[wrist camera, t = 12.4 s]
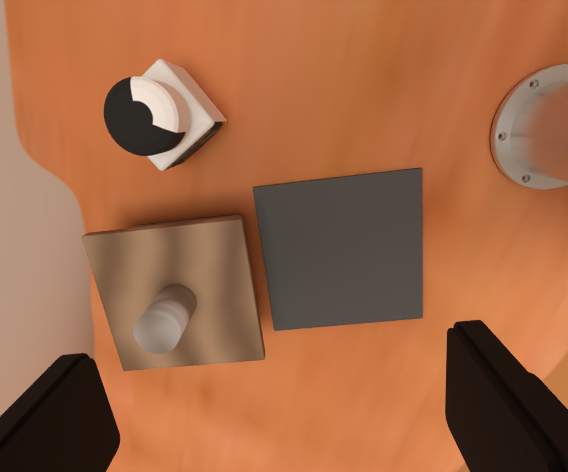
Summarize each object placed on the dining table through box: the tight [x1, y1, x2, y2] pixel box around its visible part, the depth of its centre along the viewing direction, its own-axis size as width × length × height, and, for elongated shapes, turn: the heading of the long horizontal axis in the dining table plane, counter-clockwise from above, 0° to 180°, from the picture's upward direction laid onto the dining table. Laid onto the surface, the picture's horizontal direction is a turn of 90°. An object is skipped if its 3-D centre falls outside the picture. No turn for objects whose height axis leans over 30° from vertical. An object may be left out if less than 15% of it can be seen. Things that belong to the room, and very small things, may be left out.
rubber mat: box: [253, 168, 423, 331], centre depth 44 cm, size 19×19×1 cm
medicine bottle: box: [104, 59, 227, 171], centre depth 34 cm, size 7×7×12 cm
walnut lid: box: [82, 216, 265, 371], centre depth 35 cm, size 16×16×7 cm
